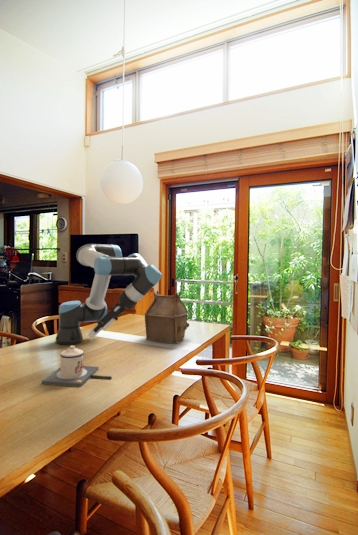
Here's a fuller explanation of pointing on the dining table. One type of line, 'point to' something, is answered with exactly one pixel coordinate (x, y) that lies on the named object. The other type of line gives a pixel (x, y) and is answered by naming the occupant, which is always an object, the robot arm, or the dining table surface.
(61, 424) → the dining table surface
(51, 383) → the warming pad
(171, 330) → the hut
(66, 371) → the teacup with lid
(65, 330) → the robot arm
